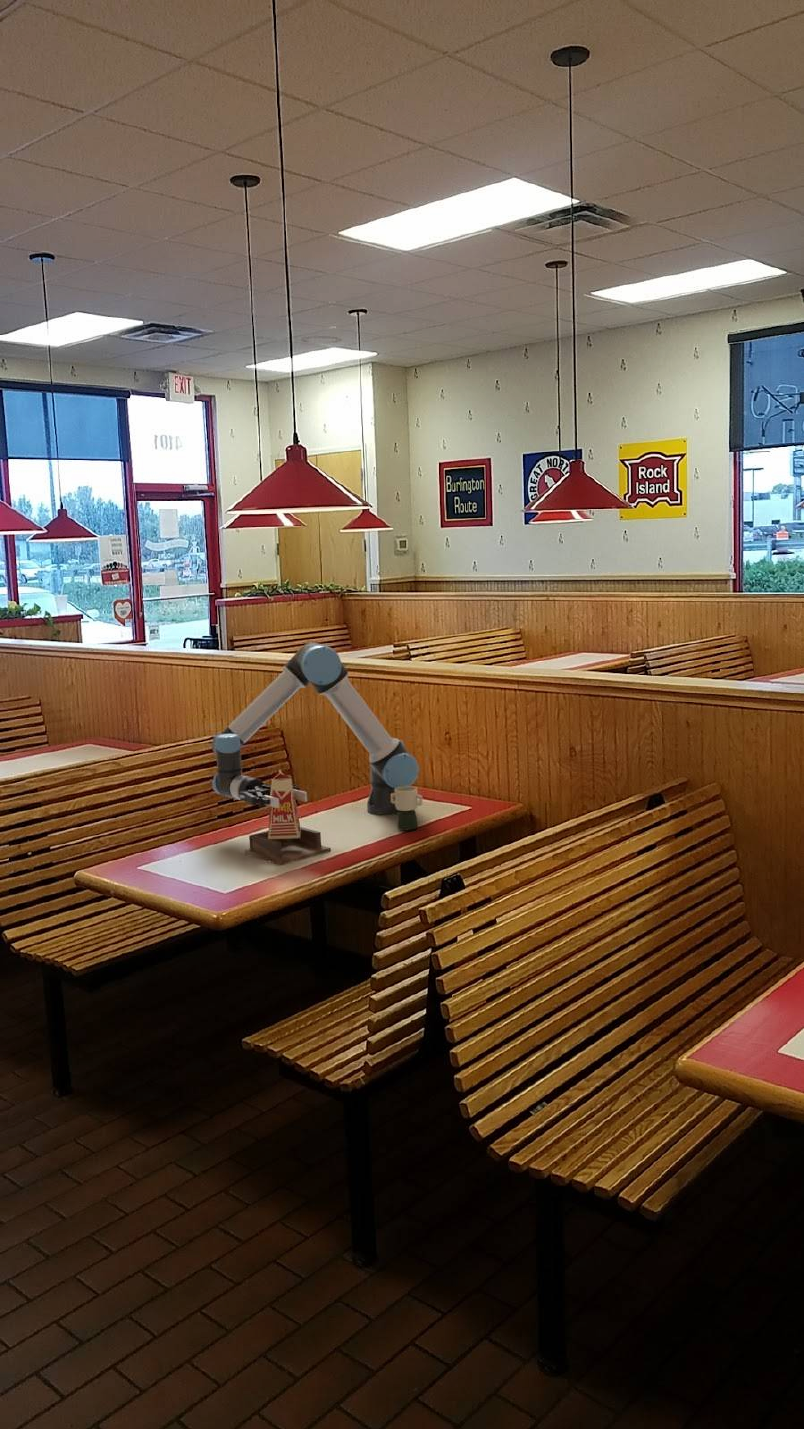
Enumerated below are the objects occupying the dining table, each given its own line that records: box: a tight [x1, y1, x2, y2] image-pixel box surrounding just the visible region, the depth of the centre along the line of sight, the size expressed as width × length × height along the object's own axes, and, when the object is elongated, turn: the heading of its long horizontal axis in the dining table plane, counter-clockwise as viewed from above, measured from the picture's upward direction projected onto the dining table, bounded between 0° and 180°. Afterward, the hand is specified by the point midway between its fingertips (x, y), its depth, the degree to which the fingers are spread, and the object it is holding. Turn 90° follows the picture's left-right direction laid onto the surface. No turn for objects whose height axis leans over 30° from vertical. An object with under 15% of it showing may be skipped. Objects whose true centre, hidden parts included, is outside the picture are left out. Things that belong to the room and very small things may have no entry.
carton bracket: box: [243, 826, 332, 866], centre depth 322 cm, size 18×18×6 cm
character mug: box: [391, 785, 423, 831], centre depth 341 cm, size 11×7×13 cm, turn 62°
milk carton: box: [267, 769, 301, 839], centre depth 320 cm, size 9×9×20 cm
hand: (292, 800), depth 317 cm, fingers closed on milk carton, 9 cm apart
